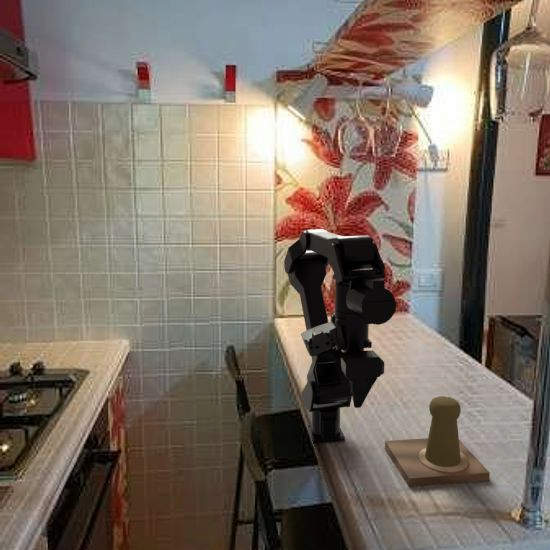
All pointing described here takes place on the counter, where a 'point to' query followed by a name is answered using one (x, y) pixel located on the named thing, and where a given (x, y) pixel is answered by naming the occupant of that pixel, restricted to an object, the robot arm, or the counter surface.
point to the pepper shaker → (443, 432)
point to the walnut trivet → (424, 473)
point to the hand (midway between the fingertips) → (350, 396)
